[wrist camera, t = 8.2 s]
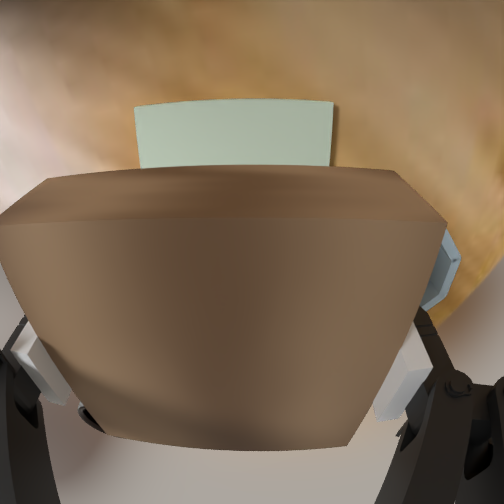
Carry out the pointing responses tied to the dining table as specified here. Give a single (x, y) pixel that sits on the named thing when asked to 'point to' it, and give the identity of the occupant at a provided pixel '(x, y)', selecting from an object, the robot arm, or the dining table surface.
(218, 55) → the dining table surface
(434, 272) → the bowl
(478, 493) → the robot arm
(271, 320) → the cover
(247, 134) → the mat
